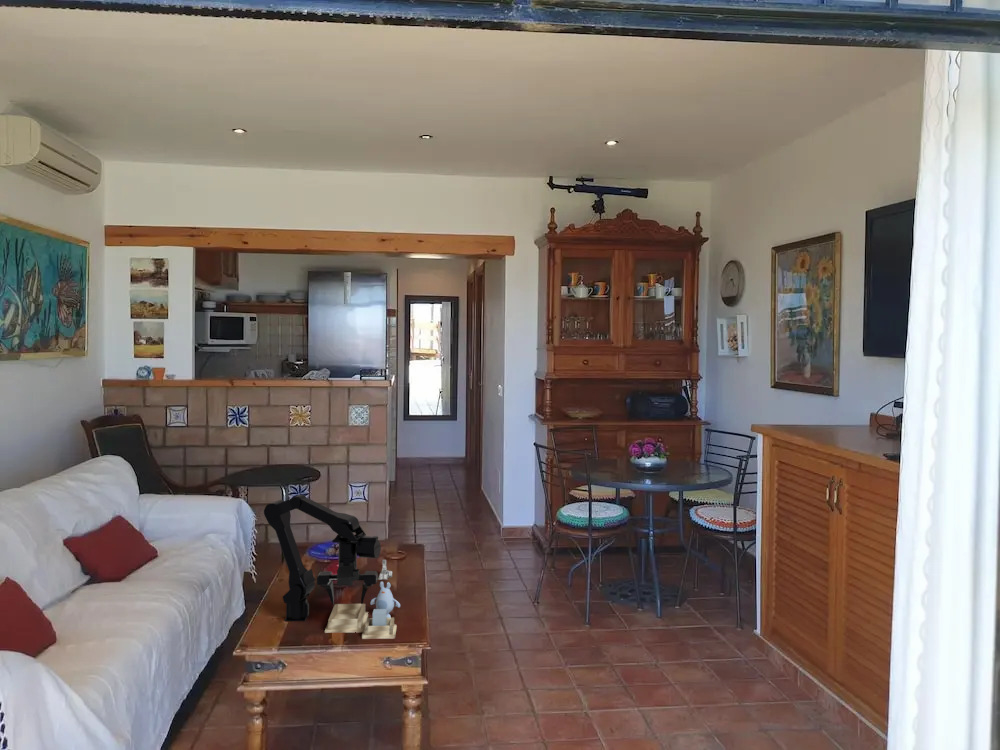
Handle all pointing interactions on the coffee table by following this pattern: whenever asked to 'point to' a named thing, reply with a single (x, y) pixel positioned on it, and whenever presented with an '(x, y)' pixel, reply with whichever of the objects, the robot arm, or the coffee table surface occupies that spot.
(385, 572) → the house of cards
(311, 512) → the robot arm
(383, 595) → the toy figure
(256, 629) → the coffee table surface
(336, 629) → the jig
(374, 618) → the block
